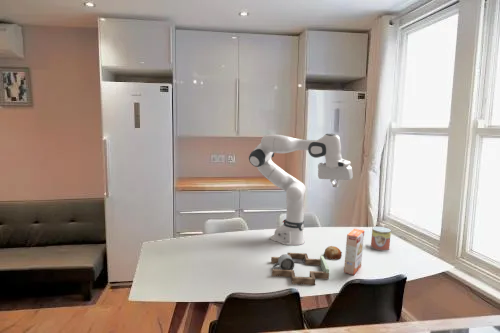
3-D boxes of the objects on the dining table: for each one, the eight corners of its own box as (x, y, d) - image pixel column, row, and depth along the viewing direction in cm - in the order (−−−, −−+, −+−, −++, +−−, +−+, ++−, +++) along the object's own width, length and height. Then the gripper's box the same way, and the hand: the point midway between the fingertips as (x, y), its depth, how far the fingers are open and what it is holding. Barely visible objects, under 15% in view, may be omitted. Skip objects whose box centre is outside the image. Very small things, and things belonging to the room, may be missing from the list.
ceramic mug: (290, 265, 193) (291, 252, 192) (294, 272, 185) (294, 258, 184) (271, 266, 191) (271, 252, 190) (274, 272, 183) (274, 258, 182)
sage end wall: (325, 278, 178) (326, 269, 178) (319, 264, 196) (320, 255, 196) (328, 278, 178) (329, 269, 178) (322, 264, 196) (323, 255, 195)
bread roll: (324, 259, 214) (319, 247, 213) (339, 252, 214) (335, 240, 213) (329, 265, 204) (324, 253, 203) (345, 258, 204) (340, 246, 203)
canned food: (370, 248, 224) (371, 230, 222) (371, 243, 234) (372, 225, 233) (389, 251, 220) (391, 233, 218) (389, 246, 230) (391, 228, 229)
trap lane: (272, 282, 172) (272, 276, 171) (270, 256, 204) (271, 251, 204) (331, 285, 171) (332, 279, 170) (320, 259, 204) (320, 254, 203)
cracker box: (354, 275, 183) (357, 236, 180) (343, 272, 186) (346, 234, 184) (361, 266, 195) (365, 230, 192) (351, 264, 198) (353, 227, 195)
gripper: (314, 163, 202) (316, 187, 204) (347, 163, 188) (349, 189, 190) (320, 161, 206) (322, 185, 208) (353, 161, 192) (355, 186, 194)
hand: (335, 187), depth 199 cm, fingers closed
